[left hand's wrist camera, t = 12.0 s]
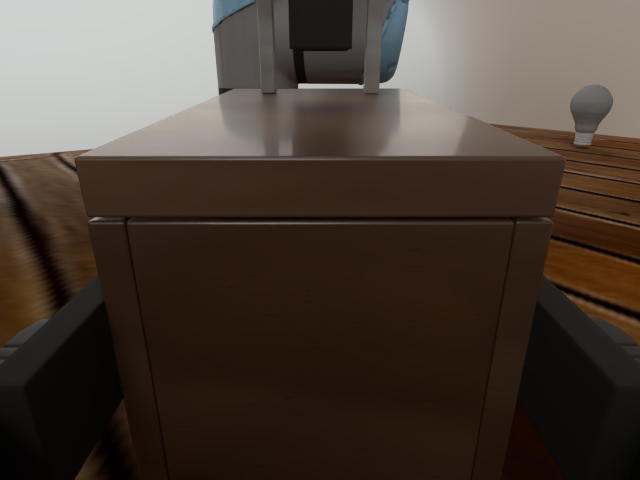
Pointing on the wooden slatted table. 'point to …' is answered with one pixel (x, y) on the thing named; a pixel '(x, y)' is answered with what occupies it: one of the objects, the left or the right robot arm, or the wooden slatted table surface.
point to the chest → (320, 342)
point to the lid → (320, 154)
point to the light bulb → (589, 111)
